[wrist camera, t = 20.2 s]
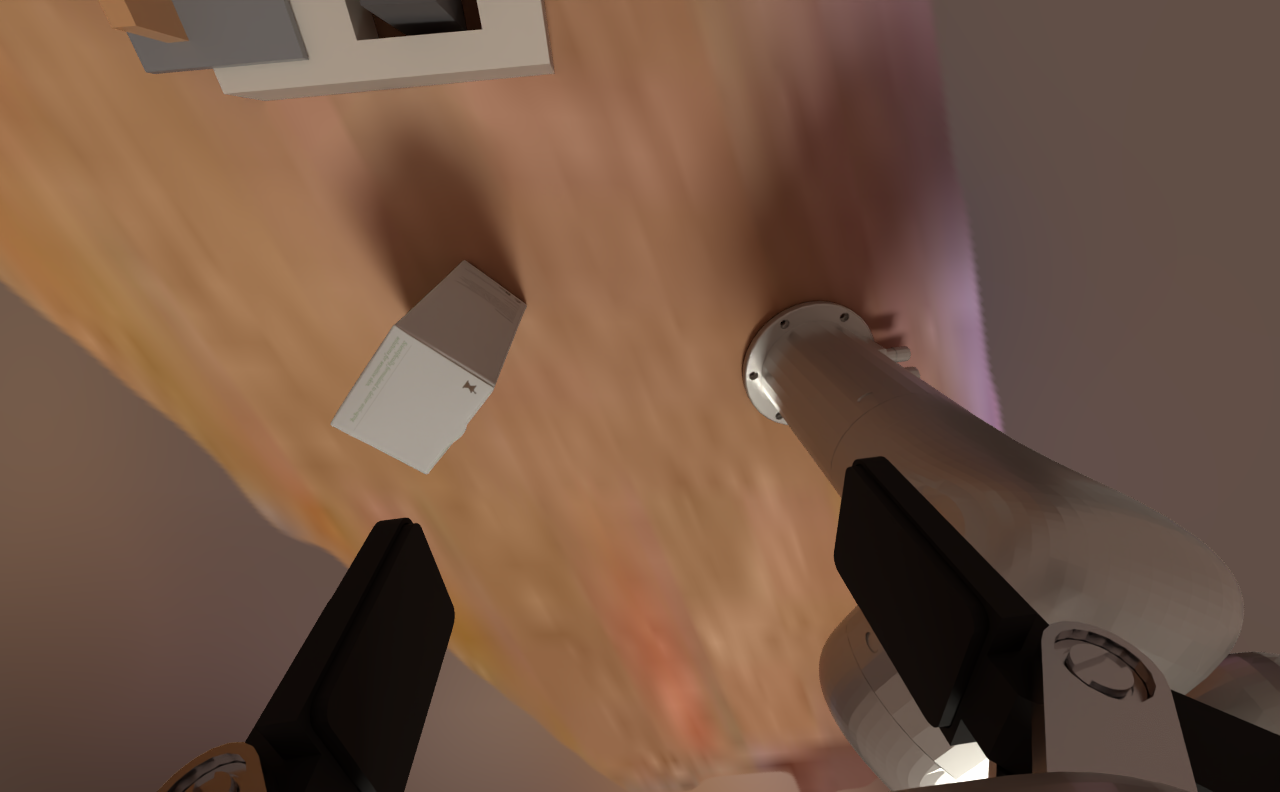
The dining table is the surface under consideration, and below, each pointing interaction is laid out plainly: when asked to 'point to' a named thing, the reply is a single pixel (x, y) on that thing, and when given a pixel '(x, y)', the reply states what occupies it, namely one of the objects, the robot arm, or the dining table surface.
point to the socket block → (396, 52)
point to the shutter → (207, 32)
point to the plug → (419, 15)
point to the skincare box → (433, 369)
